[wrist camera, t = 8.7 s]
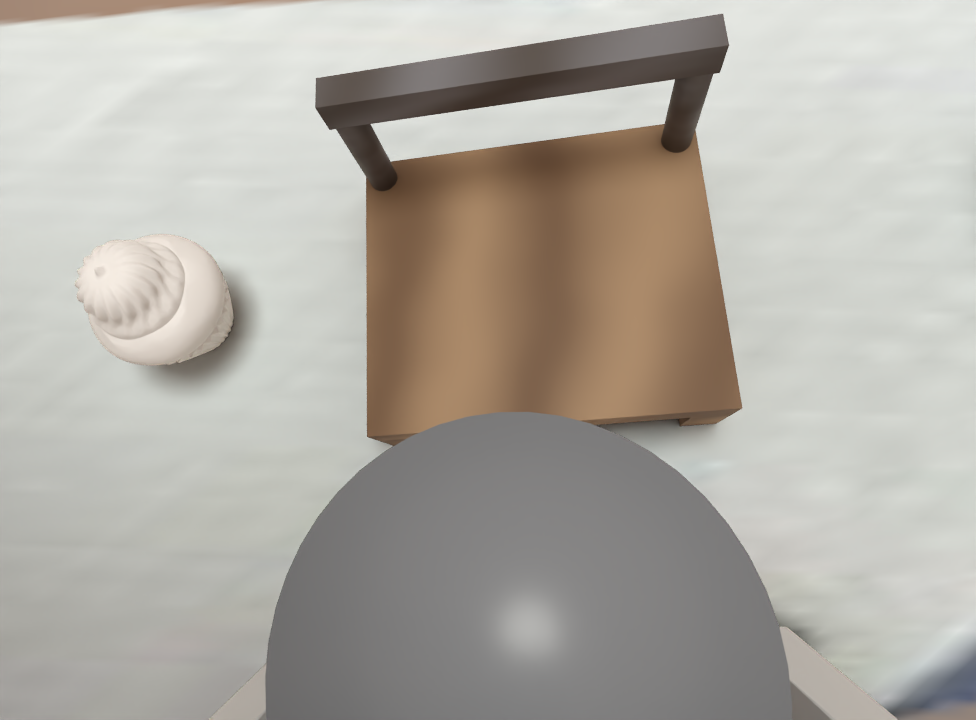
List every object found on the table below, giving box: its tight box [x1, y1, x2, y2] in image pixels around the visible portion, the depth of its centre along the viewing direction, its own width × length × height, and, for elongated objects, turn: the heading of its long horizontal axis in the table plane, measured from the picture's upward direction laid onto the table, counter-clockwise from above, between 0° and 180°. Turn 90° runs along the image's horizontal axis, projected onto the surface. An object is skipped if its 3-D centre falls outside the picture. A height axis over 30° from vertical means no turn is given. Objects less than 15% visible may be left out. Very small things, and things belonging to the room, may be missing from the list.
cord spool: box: [265, 412, 792, 720], centre depth 11 cm, size 6×6×9 cm
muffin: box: [75, 234, 234, 365], centre depth 26 cm, size 6×6×7 cm
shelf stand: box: [315, 14, 742, 446], centre depth 22 cm, size 14×12×10 cm
